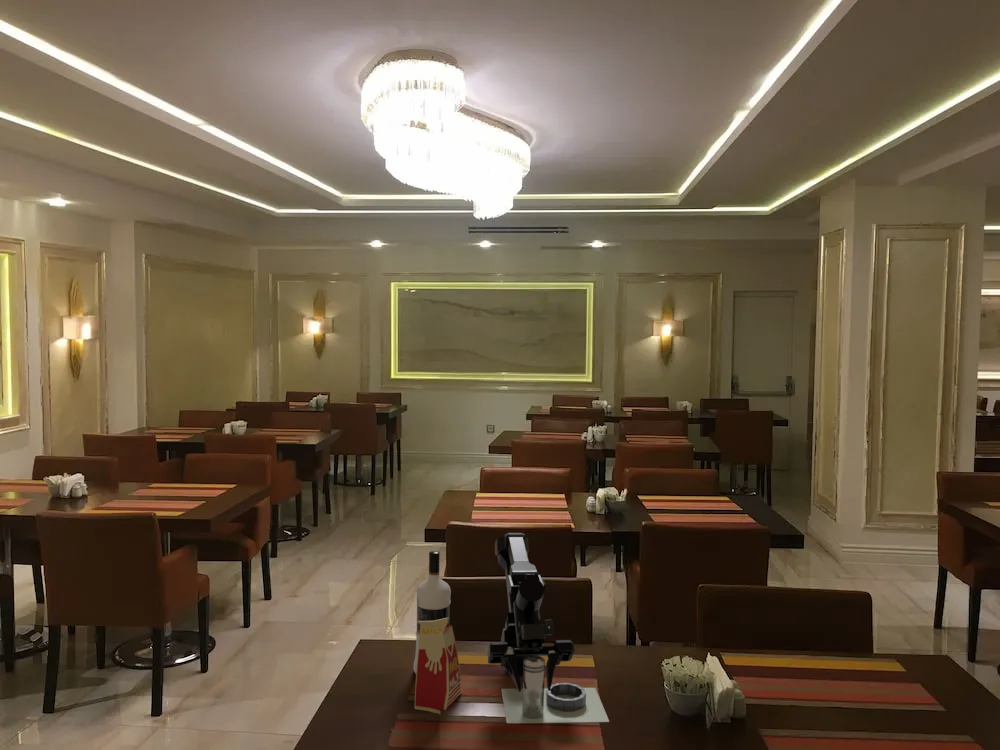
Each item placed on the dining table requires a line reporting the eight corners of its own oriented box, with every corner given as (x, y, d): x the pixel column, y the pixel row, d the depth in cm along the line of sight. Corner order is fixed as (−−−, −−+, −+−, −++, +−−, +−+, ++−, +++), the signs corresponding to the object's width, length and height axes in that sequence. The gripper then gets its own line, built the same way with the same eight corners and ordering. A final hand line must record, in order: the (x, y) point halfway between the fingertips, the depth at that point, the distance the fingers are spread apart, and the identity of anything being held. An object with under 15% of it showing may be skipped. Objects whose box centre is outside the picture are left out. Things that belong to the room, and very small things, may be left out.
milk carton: (462, 697, 184) (463, 612, 183) (446, 716, 175) (448, 626, 174) (425, 690, 187) (427, 606, 186) (408, 708, 178) (409, 620, 177)
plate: (506, 728, 170) (506, 723, 170) (501, 693, 186) (501, 688, 186) (609, 727, 172) (609, 721, 172) (595, 692, 188) (595, 687, 188)
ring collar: (549, 711, 176) (549, 700, 175) (544, 693, 184) (544, 683, 184) (588, 711, 176) (588, 700, 176) (581, 693, 185) (581, 682, 185)
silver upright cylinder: (523, 719, 172) (524, 664, 171) (520, 708, 177) (522, 655, 176) (544, 718, 173) (546, 664, 172) (542, 708, 177) (543, 655, 176)
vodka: (448, 681, 192) (450, 558, 190) (410, 679, 193) (411, 556, 191) (453, 665, 201) (455, 547, 199) (417, 663, 202) (418, 545, 200)
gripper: (490, 606, 176) (495, 678, 166) (573, 604, 178) (583, 675, 168) (485, 628, 184) (490, 697, 174) (565, 626, 187) (574, 694, 176)
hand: (534, 690), depth 173 cm, fingers open, 6 cm apart
